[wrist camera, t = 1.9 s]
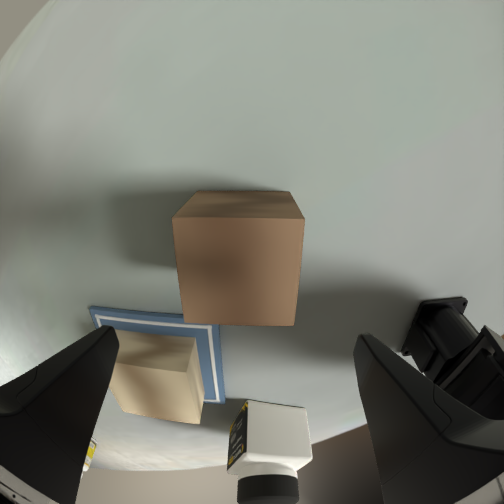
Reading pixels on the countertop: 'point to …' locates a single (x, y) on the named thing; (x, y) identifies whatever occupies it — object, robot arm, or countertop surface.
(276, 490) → the medicine bottle
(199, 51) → the countertop surface
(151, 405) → the maple slab
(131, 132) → the countertop surface
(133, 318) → the blueprint board
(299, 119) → the countertop surface
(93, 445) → the supplement bottle
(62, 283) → the countertop surface
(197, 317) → the walnut cube
